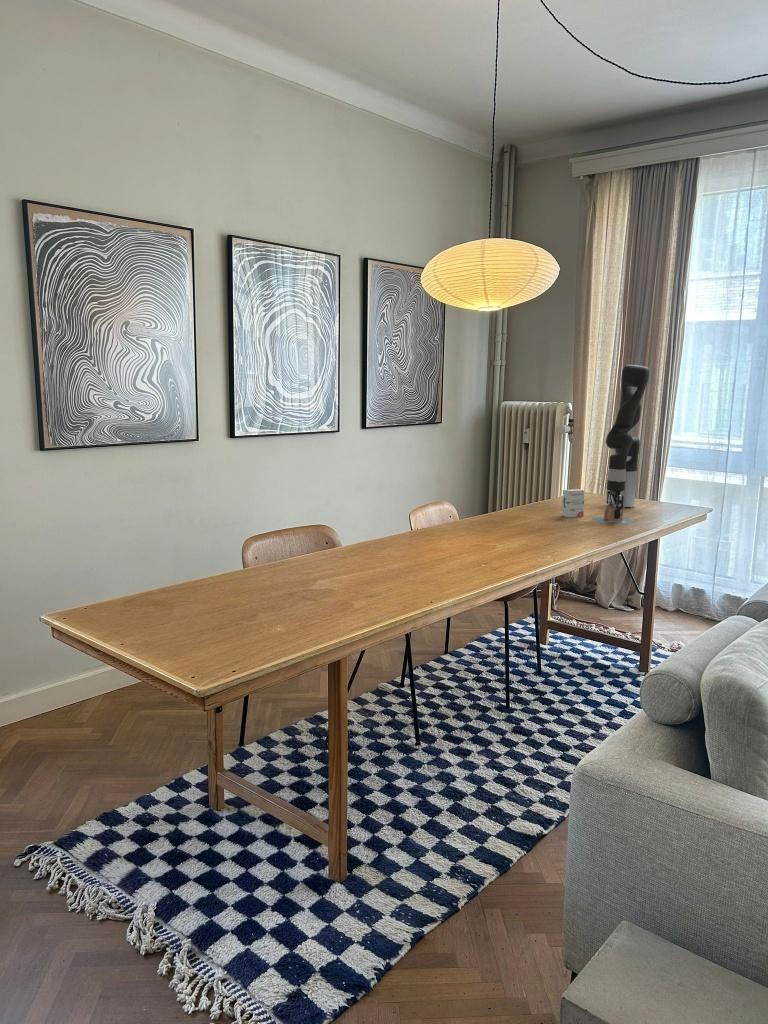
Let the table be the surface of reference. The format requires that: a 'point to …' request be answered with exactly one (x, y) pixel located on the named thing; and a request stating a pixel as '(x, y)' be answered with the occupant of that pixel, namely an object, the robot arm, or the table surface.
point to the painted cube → (612, 514)
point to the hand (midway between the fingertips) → (613, 516)
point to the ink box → (573, 503)
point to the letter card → (603, 521)
